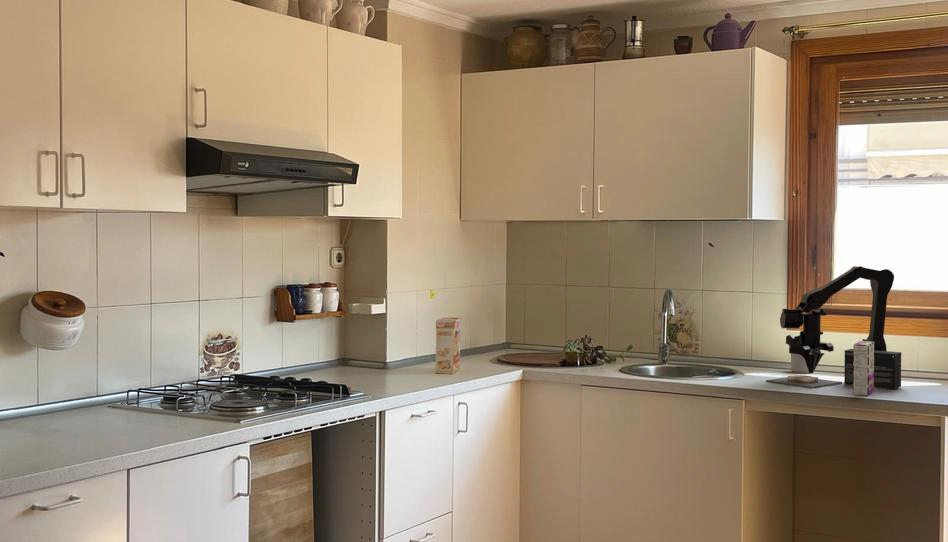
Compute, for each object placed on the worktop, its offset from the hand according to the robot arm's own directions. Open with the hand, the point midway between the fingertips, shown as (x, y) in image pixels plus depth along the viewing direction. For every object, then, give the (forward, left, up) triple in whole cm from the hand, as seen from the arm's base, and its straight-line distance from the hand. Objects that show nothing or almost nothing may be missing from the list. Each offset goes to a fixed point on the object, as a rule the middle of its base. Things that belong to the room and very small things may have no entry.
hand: (811, 373), depth 325 cm
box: (-17, -10, -3) cm, 20 cm away
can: (+17, -20, -4) cm, 27 cm away
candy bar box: (-23, +7, -4) cm, 24 cm away
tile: (0, +1, -2) cm, 2 cm away
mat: (+1, +3, -3) cm, 4 cm away
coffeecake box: (+95, +87, -4) cm, 129 cm away
